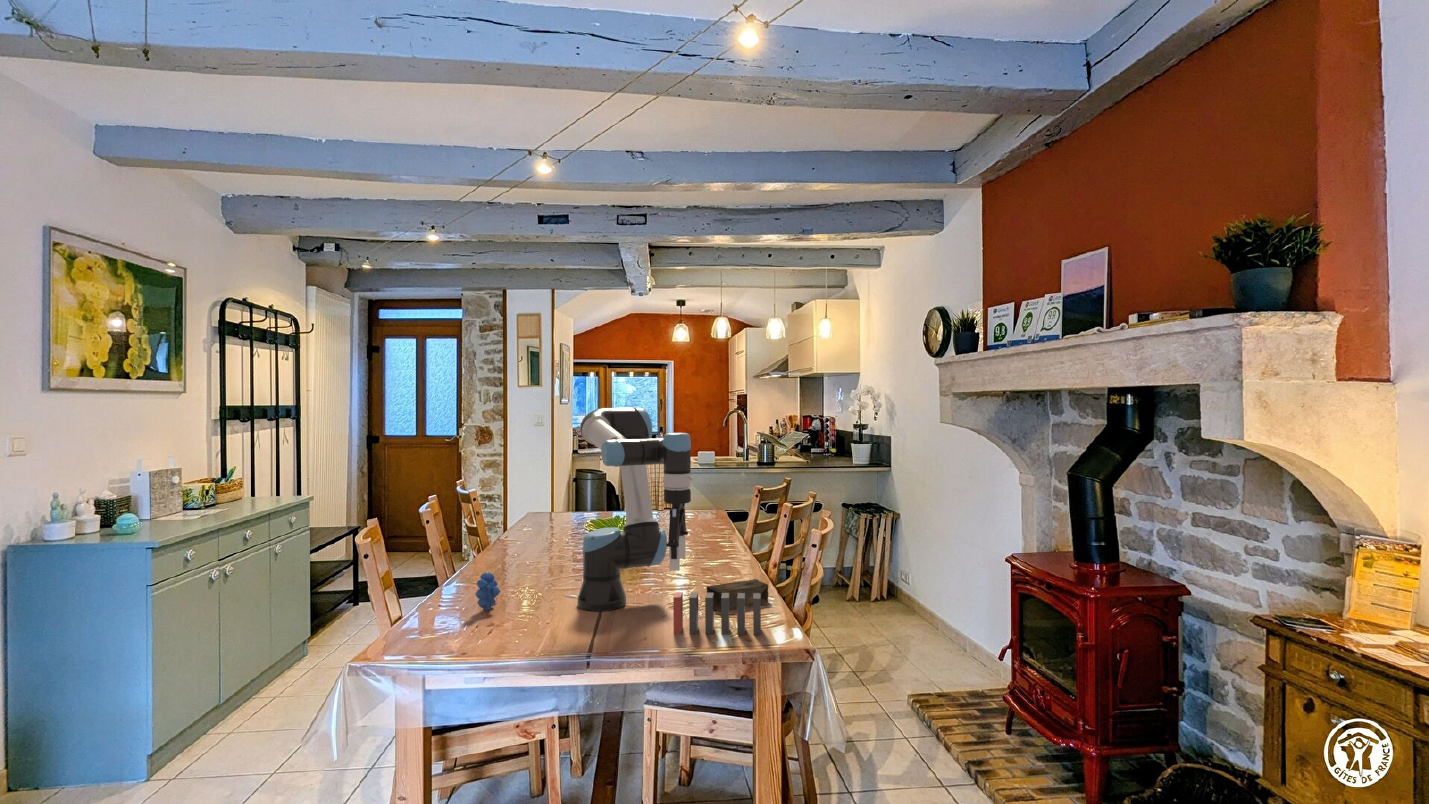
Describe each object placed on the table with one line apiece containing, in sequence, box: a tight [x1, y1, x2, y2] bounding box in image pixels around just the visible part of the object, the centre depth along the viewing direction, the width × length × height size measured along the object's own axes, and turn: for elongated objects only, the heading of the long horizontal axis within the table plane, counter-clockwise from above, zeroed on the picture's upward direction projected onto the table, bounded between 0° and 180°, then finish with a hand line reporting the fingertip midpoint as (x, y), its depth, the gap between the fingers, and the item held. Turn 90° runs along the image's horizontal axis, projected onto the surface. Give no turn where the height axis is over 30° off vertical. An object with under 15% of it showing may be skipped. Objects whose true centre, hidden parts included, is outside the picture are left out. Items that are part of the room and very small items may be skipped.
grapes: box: [475, 572, 501, 612], centre depth 210 cm, size 12×7×12 cm, turn 173°
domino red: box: [672, 591, 684, 635], centre depth 192 cm, size 2×5×10 cm, turn 176°
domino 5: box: [752, 593, 762, 636], centre depth 190 cm, size 2×5×10 cm, turn 176°
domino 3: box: [720, 593, 730, 635], centre depth 191 cm, size 2×5×10 cm, turn 176°
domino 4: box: [736, 593, 746, 636], centre depth 190 cm, size 2×5×10 cm, turn 176°
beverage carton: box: [706, 578, 769, 612], centre depth 216 cm, size 8×19×7 cm, turn 121°
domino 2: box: [704, 592, 715, 635], centre depth 191 cm, size 2×5×10 cm, turn 176°
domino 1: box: [688, 592, 699, 635], centre depth 191 cm, size 2×5×10 cm, turn 176°
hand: (677, 564), depth 191 cm, fingers open, 13 cm apart
